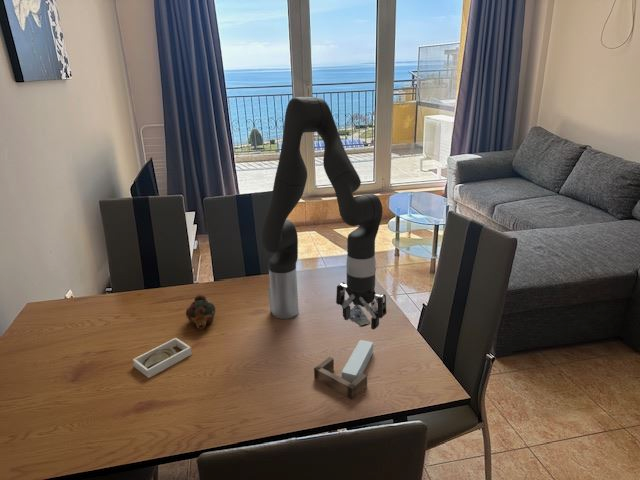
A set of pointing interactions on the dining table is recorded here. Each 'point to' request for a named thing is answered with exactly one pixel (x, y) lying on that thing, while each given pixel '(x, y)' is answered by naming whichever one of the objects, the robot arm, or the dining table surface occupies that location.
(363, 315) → the grey flat forked piece
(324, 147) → the robot arm
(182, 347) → the shell dish
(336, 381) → the end cap
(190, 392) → the dining table surface
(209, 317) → the decorative turtle
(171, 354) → the oyster shell
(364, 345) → the white rectangular bar
